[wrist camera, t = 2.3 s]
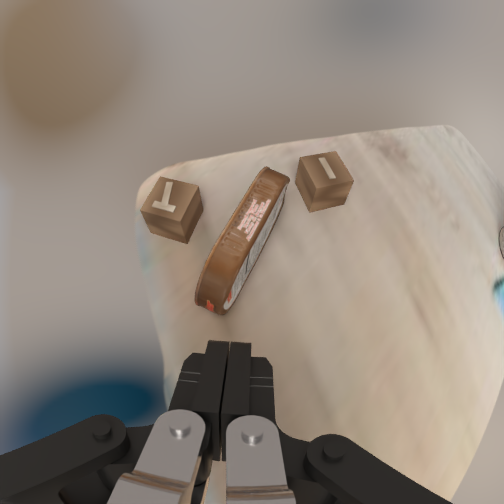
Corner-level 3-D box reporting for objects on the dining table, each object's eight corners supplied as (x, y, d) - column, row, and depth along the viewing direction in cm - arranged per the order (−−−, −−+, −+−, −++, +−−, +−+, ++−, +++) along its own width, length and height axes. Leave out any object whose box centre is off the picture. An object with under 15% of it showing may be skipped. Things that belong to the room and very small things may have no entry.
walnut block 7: (203, 210, 36) (198, 184, 32) (187, 244, 34) (179, 220, 30) (168, 201, 37) (159, 175, 32) (151, 233, 35) (139, 209, 30)
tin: (263, 199, 37) (267, 146, 29) (288, 209, 36) (298, 158, 29) (198, 315, 30) (182, 282, 23) (227, 329, 30) (221, 301, 22)
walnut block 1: (328, 176, 39) (336, 150, 35) (343, 204, 37) (354, 179, 33) (295, 183, 38) (300, 156, 34) (309, 212, 36) (316, 187, 32)
